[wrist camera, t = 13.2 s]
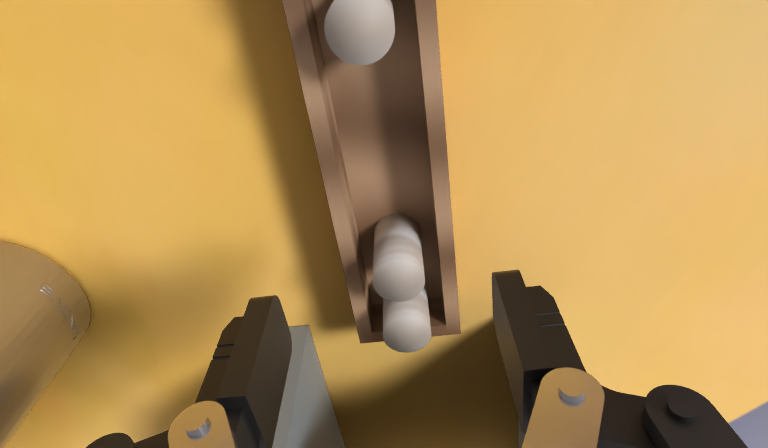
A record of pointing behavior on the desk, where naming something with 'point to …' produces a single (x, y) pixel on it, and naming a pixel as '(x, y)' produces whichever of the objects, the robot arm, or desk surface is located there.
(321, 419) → the grey bridge block
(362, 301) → the tray
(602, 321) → the desk surface
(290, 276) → the desk surface
